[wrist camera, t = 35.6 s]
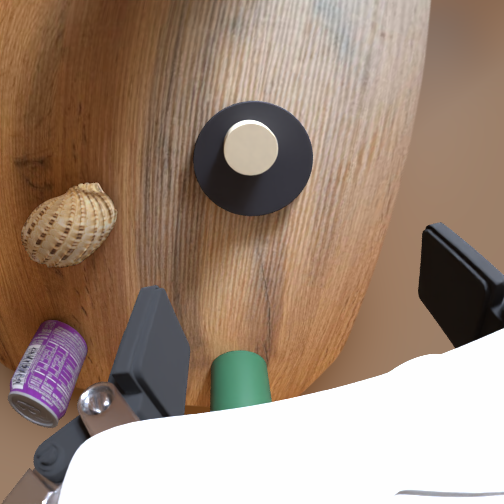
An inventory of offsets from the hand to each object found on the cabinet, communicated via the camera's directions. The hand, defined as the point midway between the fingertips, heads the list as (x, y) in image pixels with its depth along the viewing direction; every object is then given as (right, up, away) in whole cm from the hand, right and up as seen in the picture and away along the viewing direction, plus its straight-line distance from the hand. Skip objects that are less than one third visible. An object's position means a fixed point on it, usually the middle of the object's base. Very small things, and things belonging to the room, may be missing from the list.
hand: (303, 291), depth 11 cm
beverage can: (-25, -9, +24) cm, 36 cm away
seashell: (-19, +5, +17) cm, 26 cm away
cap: (-2, +9, +13) cm, 16 cm away
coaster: (-2, +9, +16) cm, 18 cm away
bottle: (-3, -13, +28) cm, 31 cm away
